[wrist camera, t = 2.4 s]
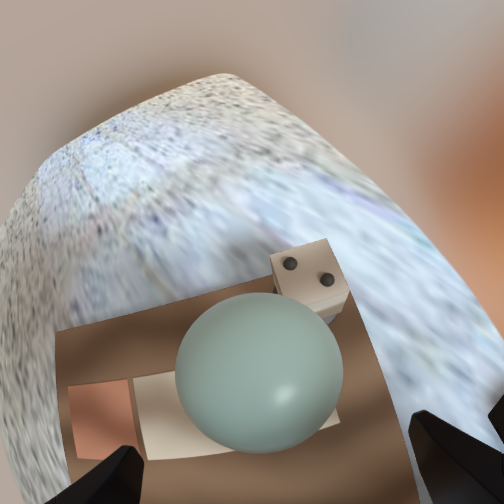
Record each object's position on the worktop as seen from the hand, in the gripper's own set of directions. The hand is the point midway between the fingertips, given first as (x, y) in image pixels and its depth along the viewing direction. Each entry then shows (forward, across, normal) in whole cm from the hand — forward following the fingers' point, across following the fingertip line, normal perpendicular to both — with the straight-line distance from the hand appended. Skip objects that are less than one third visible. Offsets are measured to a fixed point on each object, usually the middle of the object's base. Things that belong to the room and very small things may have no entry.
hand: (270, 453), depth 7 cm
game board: (+7, +5, +7) cm, 11 cm away
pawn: (+8, 0, +5) cm, 9 cm away
